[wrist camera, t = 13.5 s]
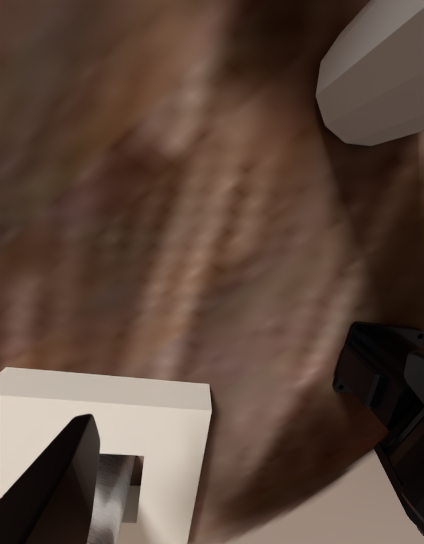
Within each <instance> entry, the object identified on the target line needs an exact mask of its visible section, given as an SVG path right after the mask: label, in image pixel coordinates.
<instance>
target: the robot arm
mask: <svg viewBox="0 0 424 544" xmlns="http://www.w3.org/2000/svg"><path fill="white" fill-rule="evenodd" d="M357 327H359V329H357ZM356 329H357V330H356ZM423 343H424V331H423V330H421V329H417V328H409V327H401V326H392V325H384V324H375V323H367V322H354V323H353V324H352V325H351V327H350V331H349V334H348V337H347V340H346V344H345V347H344V349H343V352H342V355H341V359H340V362H339V365H338V368H337V373H336V376H335V379H334V383H333V387H334V388H335V390H336V391H337V392H344V393H354V394H355V395H356V396H357V397H358V399H359V400H360V401H361V402H362V403H363V405H364V406H365V407H366V408H370V409H371V411H372V412H373V413H374V414H375V415H376V416H377V418H378V419H379V420H380V421H381V422H382V423H383V425H384V426H385V427H386V428H387V429H388V430H389V431H390V432H389V433H388V434H387V435H386V436H385V438H384V439H383V440H382V441H381V442H378V443H377V444H376V445H375V447H374V450H375V452H376V454H377V456H378V458H379V460H380V462H381V464H382V466H383V468H384V470H385V472H386V474H387V476H388V478H389V480H390V482H391V484H392V486H393V488H394V490H395V492H396V494H397V496H398V498H399V500H400V502H401V504H402V506H403V508H404V510H405V512H406V514H407V516H408V517H409V518H410V520H411V521H412V522H413V523H414V524H415V525H417V528H418V530H419V531H420V532H421V534H423V536H424V350H423V349H422V345H423ZM339 385H341V386H339ZM338 386H339V387H338ZM99 453H100V436H99V433H98V429H97V426H96V422H95V419H94V416H93V415H92V414H84V415H79V416H75V417H74V418H73V419H72V420H71V421H70V422H69V423H68V424H67V425H66V426H65V427H64V428H63V430H62V431H61V432H60V433H59V434H58V435H57V436H56V437H55V438H54V440H53V441H52V442H51V443H50V444H49V445H48V446H47V447H46V448H45V450H44V451H43V452H42V453H41V454H40V455H39V456H38V457H37V458H36V459H35V461H34V462H33V463H32V464H31V465H30V466H29V467H28V468H27V469H26V471H25V472H24V473H23V474H22V475H21V476H20V477H19V478H18V479H17V481H16V482H15V483H14V484H13V485H12V486H11V487H10V488H9V489H8V491H7V492H6V493H5V494H4V495H3V496H2V497H1V498H0V544H87V540H88V536H89V531H90V525H91V520H92V513H93V505H94V497H95V488H96V479H97V471H98V462H99Z"/></svg>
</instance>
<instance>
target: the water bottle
mask: <svg viewBox="0 0 424 544" xmlns="http://www.w3.org/2000/svg"><path fill="white" fill-rule="evenodd" d="M316 99H317V102H318V105H319V108H320V112H321V115H322V118H323V121H324V124H325V126H326V127H327V128H328V129H330V130H331V131H332V132H333V133H334V134H335V135H336V136H338V137H339V138H340V139H341V140H342V141H343V142H344V143H348V144H357V145H367V146H373V145H377V144H380V143H383V142H387V141H390V140H394V139H397V138H401V137H404V136H408V135H411V134H415V133H418V132H421V131H424V0H370V1H369V2H368V3H367V4H366V6H365V7H364V8H363V9H362V10H361V11H360V12H359V13H358V14H357V15H356V17H355V18H354V19H353V20H352V21H351V22H350V23H349V24H348V25H347V26H346V28H345V29H344V30H343V31H342V32H341V33H340V34H339V36H338V37H337V39H336V40H335V42H334V43H333V45H332V46H331V48H330V49H329V51H328V52H327V54H326V55H325V57H324V58H323V60H322V61H321V64H320V70H319V77H318V83H317V90H316Z"/></svg>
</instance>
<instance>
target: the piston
mask: <svg viewBox="0 0 424 544" xmlns="http://www.w3.org/2000/svg"><path fill="white" fill-rule="evenodd" d="M135 457H136V455H121V454H102V453H99V462H98V471H97V479H96V488H95V497H94V505H93V513H92V520H91V525H90V531H89V536H88V540H87V544H117V543H118V538H119V533H120V528H121V524H122V519H123V514H124V509H125V505H126V500H127V495H128V490H129V486H130V481H131V476H132V471H133V466H134V462H135Z"/></svg>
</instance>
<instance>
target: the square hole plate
mask: <svg viewBox="0 0 424 544" xmlns="http://www.w3.org/2000/svg"><path fill="white" fill-rule="evenodd" d="M211 413H212V407H211V397H210V387H209V384H201V383H189V382H178V381H166V380H154V379H142V378H130V377H118V376H107V375H95V374H83V373H71V372H59V371H47V370H35V369H24V368H12V367H6V368H5V369H4V370H3V371H1V372H0V498H1V497H2V496H3V495H4V494H5V493H6V492H7V491H8V489H9V488H10V487H11V486H12V485H13V484H14V483H15V482H16V481H17V479H18V478H19V477H20V476H21V475H22V474H23V473H24V472H25V471H26V469H27V468H28V467H29V466H30V465H31V464H32V463H33V462H34V461H35V459H36V458H37V457H38V456H39V455H40V454H41V453H42V452H43V451H44V450H45V448H46V447H47V446H48V445H49V444H50V443H51V442H52V441H53V440H54V438H55V437H56V436H57V435H58V434H59V433H60V432H61V431H62V430H63V428H64V427H65V426H66V425H67V424H68V423H69V422H70V421H71V420H72V419H73V418H74V417H75V416H79V415H84V414H92V415H93V416H94V419H95V422H96V426H97V429H98V433H99V436H100V453H102V454H121V455H140V456H144V464H143V472H142V481H141V486H129V490H128V495H127V500H126V505H125V509H124V514H123V519H122V524H121V528H120V533H119V538H118V543H117V544H187V542H188V536H189V531H190V526H191V520H192V515H193V510H194V504H195V499H196V493H197V488H198V483H199V477H200V472H201V467H202V461H203V456H204V451H205V445H206V440H207V434H208V429H209V424H210V418H211Z"/></svg>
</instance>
